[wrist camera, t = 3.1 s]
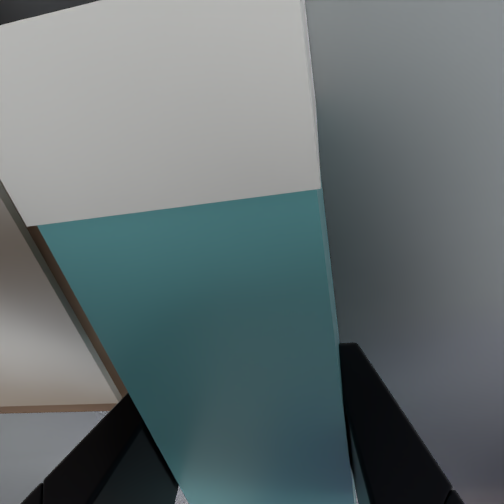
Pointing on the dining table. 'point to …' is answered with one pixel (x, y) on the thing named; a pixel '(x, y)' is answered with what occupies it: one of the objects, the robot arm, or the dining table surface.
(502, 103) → the dining table surface
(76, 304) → the wooden picture frame
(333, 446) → the teal and white bar
